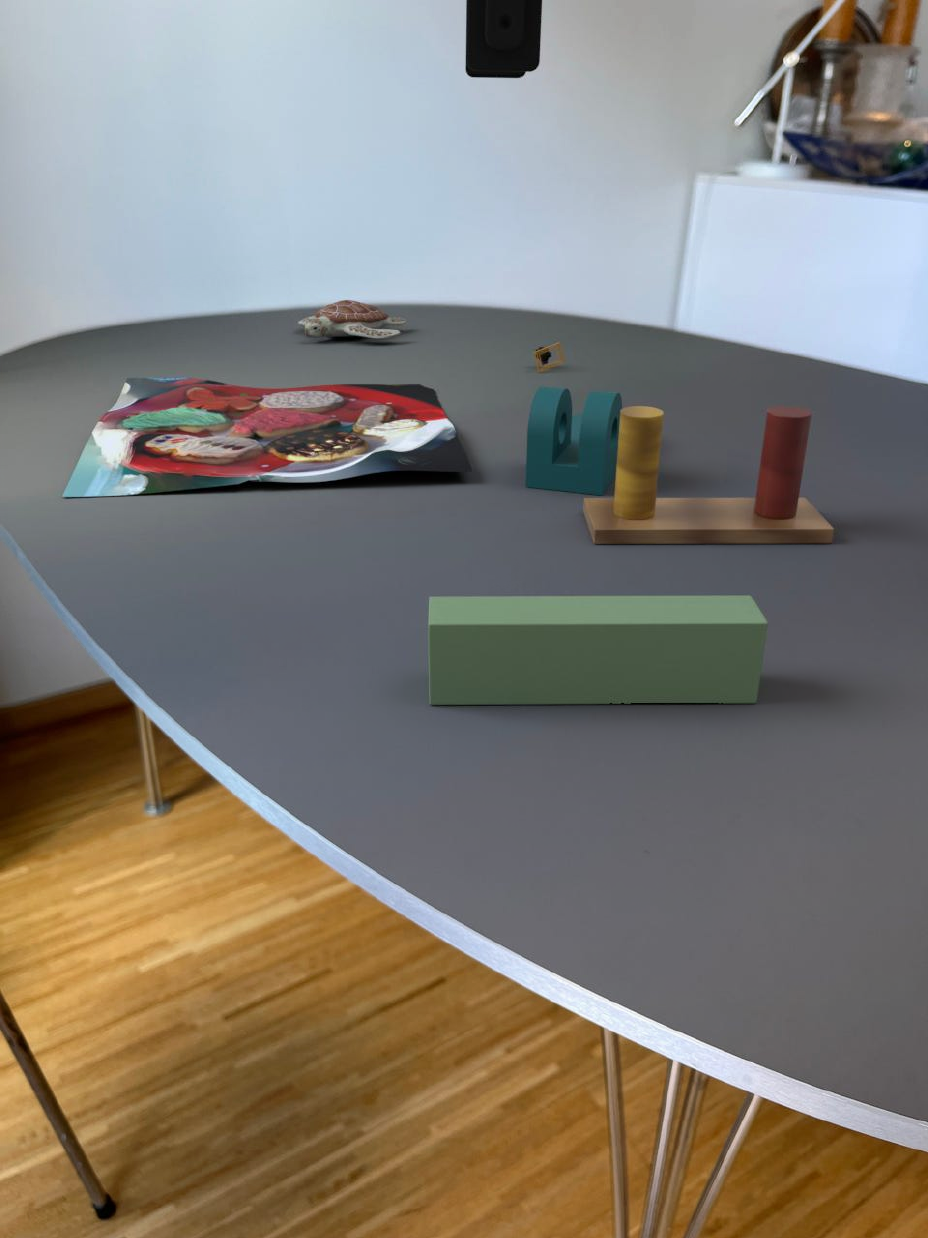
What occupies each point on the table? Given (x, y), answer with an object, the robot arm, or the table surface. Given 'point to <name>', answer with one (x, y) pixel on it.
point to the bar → (594, 649)
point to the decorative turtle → (350, 321)
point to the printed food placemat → (261, 436)
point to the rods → (708, 519)
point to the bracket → (572, 441)
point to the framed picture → (547, 356)
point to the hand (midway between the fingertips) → (498, 74)
